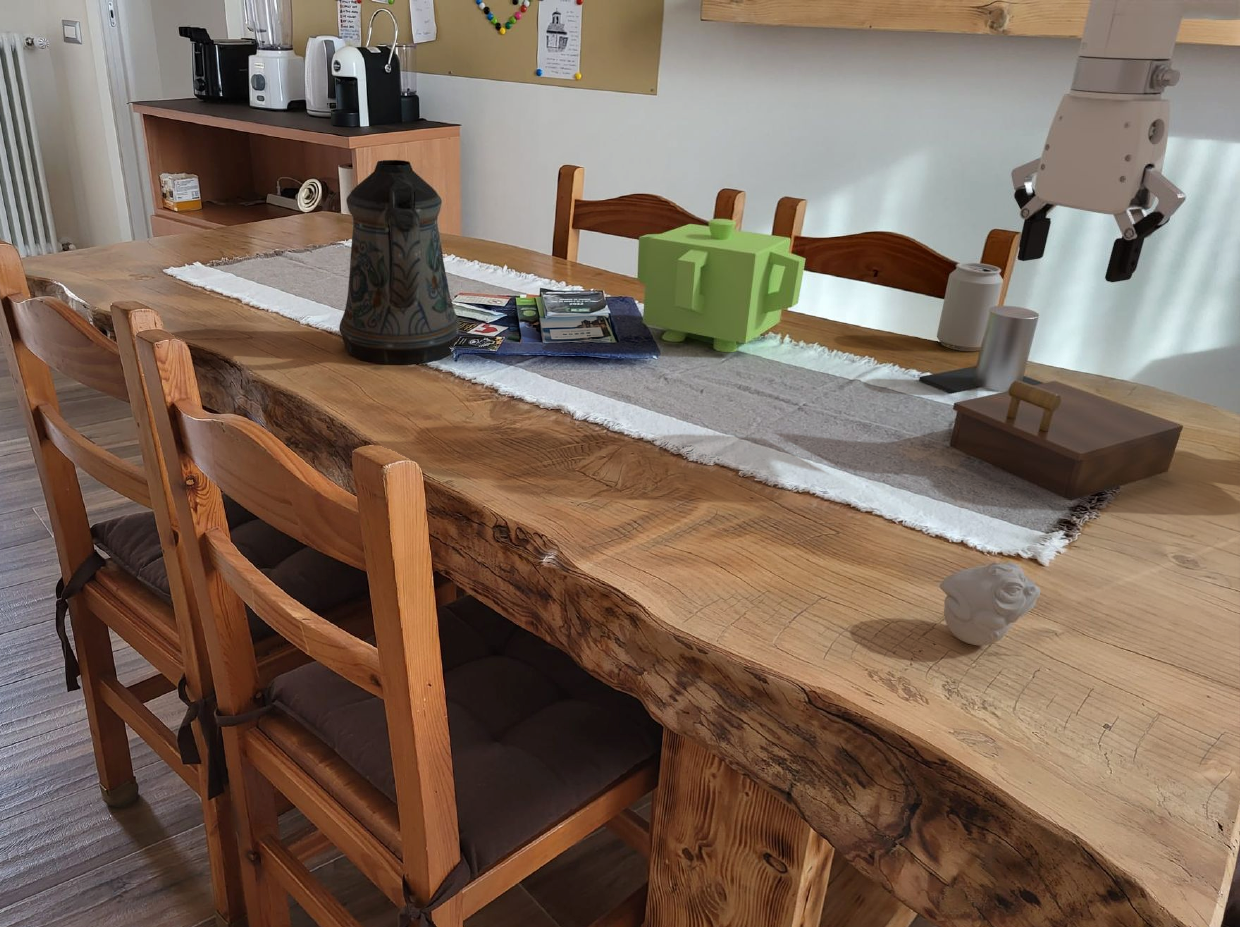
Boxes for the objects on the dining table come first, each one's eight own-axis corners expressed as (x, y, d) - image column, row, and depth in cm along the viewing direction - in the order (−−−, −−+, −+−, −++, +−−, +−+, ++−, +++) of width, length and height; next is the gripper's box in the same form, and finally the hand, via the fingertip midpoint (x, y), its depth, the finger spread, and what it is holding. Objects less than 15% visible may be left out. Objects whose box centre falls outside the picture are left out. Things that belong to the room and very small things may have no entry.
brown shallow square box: (1069, 507, 101) (1083, 459, 99) (947, 452, 113) (957, 408, 111) (1165, 477, 109) (1181, 432, 107) (1042, 428, 121) (1053, 387, 119)
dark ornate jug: (415, 324, 151) (410, 150, 140) (496, 356, 139) (497, 168, 127) (318, 343, 141) (304, 157, 130) (396, 380, 128) (388, 178, 117)
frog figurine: (1022, 672, 75) (1045, 593, 72) (925, 649, 77) (944, 571, 74) (1022, 632, 80) (1044, 556, 77) (932, 611, 82) (949, 537, 79)
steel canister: (992, 375, 137) (1009, 303, 132) (1030, 389, 132) (1049, 315, 128) (962, 381, 134) (979, 308, 130) (1000, 395, 129) (1018, 320, 125)
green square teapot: (814, 334, 154) (832, 220, 146) (761, 372, 136) (777, 245, 129) (668, 307, 165) (677, 199, 157) (601, 339, 148) (608, 220, 140)
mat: (987, 367, 142) (988, 363, 142) (1075, 398, 131) (1076, 394, 131) (918, 380, 136) (919, 376, 135) (1004, 414, 125) (1005, 410, 124)
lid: (1078, 461, 99) (1091, 415, 96) (952, 409, 111) (961, 368, 108) (1181, 432, 106) (1195, 389, 104) (1053, 386, 118) (1063, 347, 116)
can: (997, 348, 150) (1016, 268, 145) (967, 355, 146) (985, 274, 141) (955, 335, 156) (972, 258, 150) (925, 342, 152) (941, 263, 147)
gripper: (1238, 86, 85) (1180, 285, 93) (1060, 74, 99) (1022, 248, 106) (1187, 88, 82) (1130, 294, 90) (1010, 75, 95) (974, 255, 103)
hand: (1072, 269), depth 98 cm, fingers open, 9 cm apart
